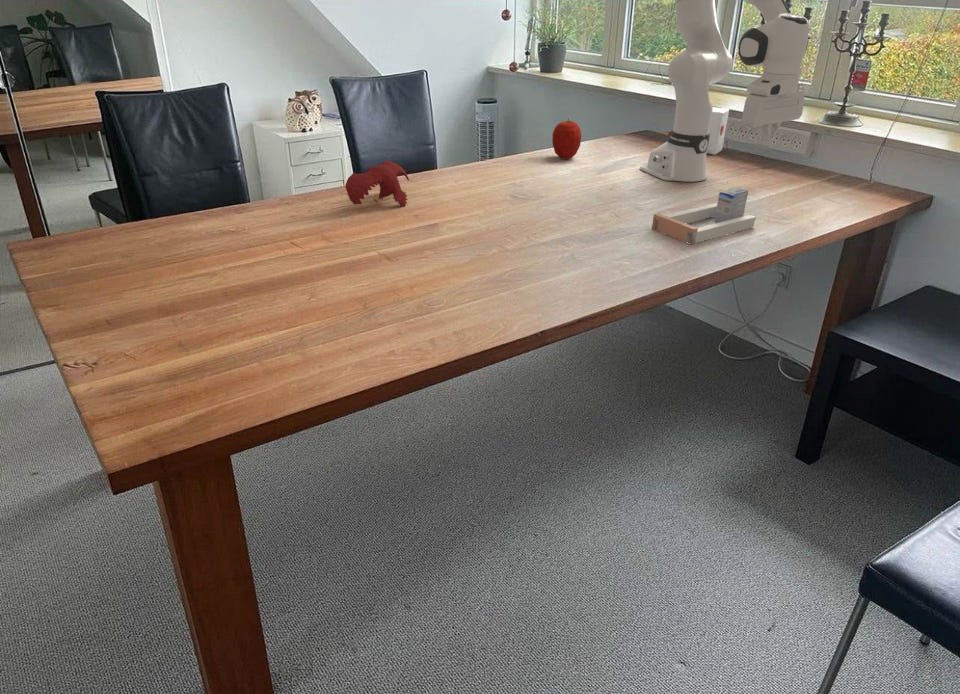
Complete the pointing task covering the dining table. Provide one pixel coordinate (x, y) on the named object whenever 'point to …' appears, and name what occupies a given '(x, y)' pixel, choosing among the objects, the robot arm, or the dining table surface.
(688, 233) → the shallow open rectangular tray
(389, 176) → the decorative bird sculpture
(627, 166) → the dining table surface
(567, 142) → the apple
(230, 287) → the dining table surface
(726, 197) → the medicine box
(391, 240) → the dining table surface
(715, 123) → the supplement box
